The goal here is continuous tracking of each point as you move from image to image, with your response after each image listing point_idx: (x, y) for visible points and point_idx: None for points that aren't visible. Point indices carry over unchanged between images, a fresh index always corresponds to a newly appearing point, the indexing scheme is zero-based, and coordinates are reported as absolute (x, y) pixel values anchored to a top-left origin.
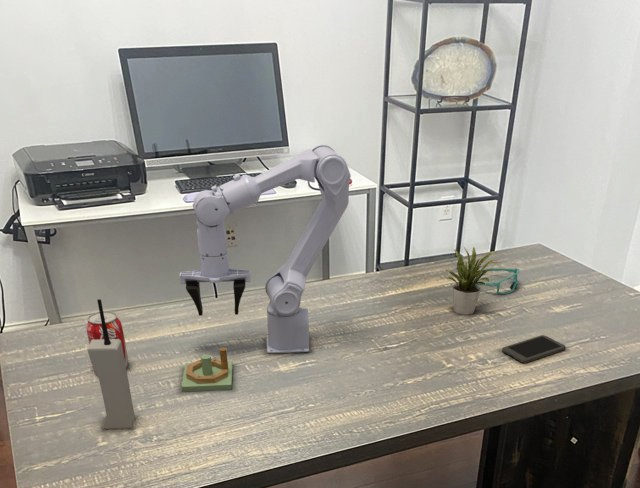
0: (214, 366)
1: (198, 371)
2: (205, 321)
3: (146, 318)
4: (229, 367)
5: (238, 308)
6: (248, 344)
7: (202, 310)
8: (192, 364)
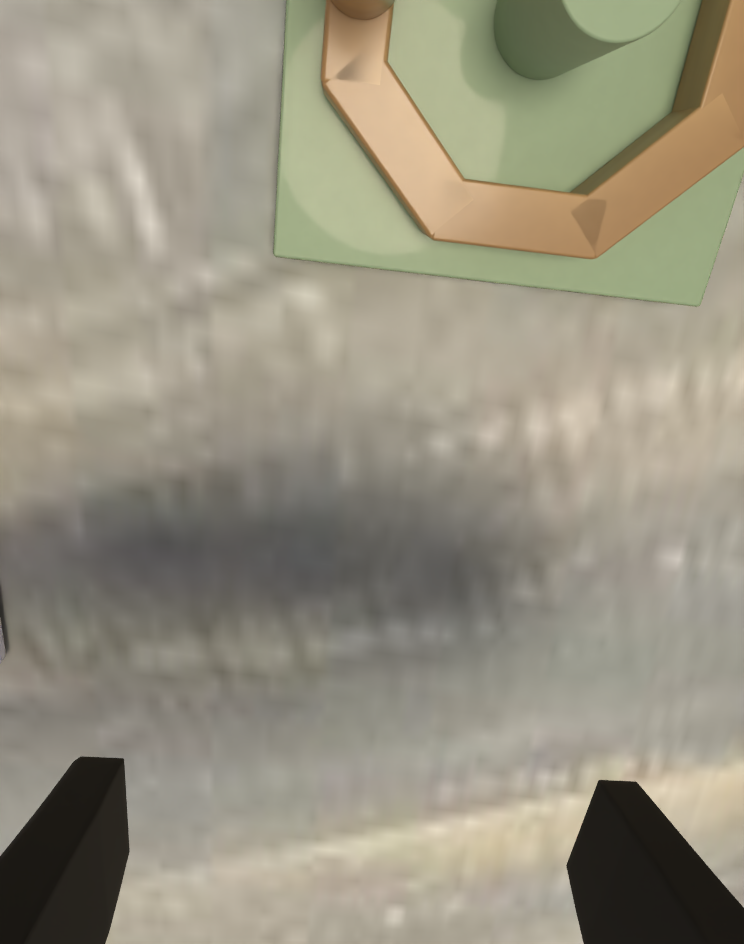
0: None
1: (625, 96)
2: (423, 887)
3: None
4: (307, 124)
5: (9, 847)
6: (147, 597)
7: (577, 881)
8: (694, 154)
